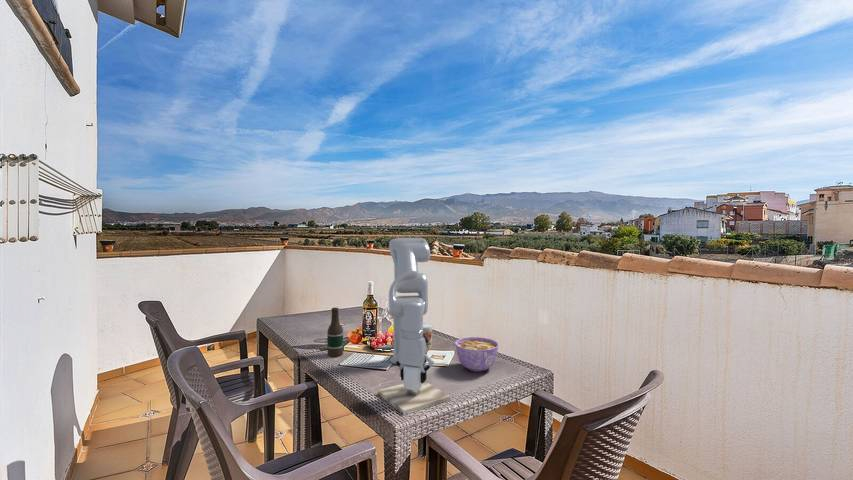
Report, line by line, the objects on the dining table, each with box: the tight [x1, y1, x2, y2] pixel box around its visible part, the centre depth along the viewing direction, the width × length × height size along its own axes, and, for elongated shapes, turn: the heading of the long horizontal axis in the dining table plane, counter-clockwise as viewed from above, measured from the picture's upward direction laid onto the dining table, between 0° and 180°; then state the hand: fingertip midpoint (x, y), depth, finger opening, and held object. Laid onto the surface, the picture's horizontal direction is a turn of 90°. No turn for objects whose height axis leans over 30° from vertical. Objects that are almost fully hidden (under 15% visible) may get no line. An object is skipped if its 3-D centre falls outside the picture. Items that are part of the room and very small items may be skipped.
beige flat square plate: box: [377, 381, 451, 413], centre depth 145 cm, size 20×20×7 cm
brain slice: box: [367, 341, 394, 350], centre depth 205 cm, size 20×17×3 cm
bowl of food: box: [454, 336, 500, 373], centre depth 175 cm, size 20×20×12 cm
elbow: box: [402, 365, 423, 390], centre depth 147 cm, size 7×11×8 cm
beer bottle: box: [326, 307, 344, 358], centre depth 193 cm, size 8×8×24 cm
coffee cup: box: [423, 322, 434, 350], centre depth 205 cm, size 9×9×12 cm
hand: (413, 380), depth 145 cm, fingers closed on elbow, 7 cm apart
